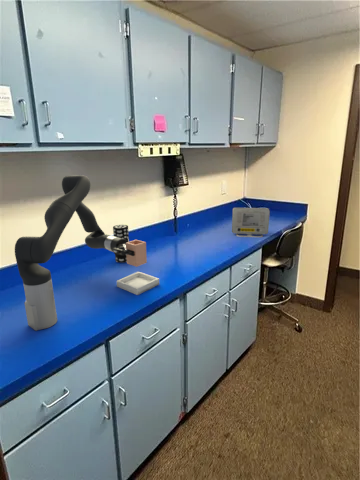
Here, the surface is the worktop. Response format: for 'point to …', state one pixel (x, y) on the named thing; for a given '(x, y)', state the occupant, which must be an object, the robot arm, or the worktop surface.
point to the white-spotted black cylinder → (123, 233)
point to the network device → (250, 221)
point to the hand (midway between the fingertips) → (139, 251)
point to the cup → (137, 253)
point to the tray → (137, 283)
